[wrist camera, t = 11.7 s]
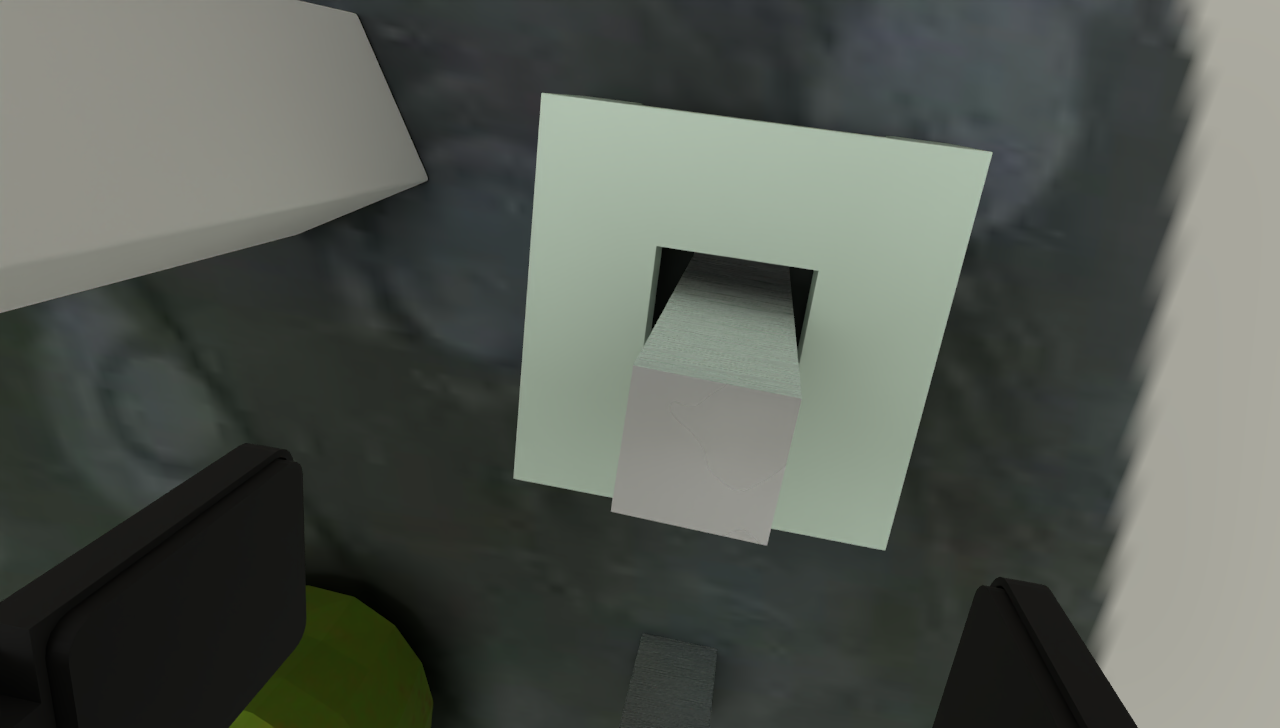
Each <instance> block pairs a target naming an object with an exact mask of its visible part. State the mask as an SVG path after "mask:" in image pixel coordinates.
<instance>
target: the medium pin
mask: <svg viewBox="0 0 1280 728" xmlns="http://www.w3.org/2000/svg"><path fill="white" fill-rule="evenodd" d="M716 658H717V649H715V648H711V647H706V646H701V645H697V644H692V643H687V642H683V641H678V640H673V639H669V638H664V637H660V636H655V635H650V634H646V633H642V637H641V641H640V645H639V649H638V653H637V657H636V661H635V665H634V669H633V673H632V677H631V681H630V685H629V690H628V694H627V698H626V702H625V706H624V710H623V714H622V718H621V722H620V726H619V728H709V726H710V716H711V707H712V697H713V687H714V677H715V668H716Z"/></svg>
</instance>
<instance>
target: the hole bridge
mask: <svg viewBox="0 0 1280 728" xmlns="http://www.w3.org/2000/svg"><path fill="white" fill-rule="evenodd" d="M992 153H993V152H989V151H984V150H979V149H974V148H969V147H964V146H959V145H954V144H948V143H940V142H933V141H925V140H917V139H910V138H902V137H894V136H887V135H886V137H880V136H873V135H865V134H857V133H850V132H842V131H834V130H827V129H819V128H812V127H804V126H796V125H789V124H781V123H774V122H766V121H758V120H751V119H743V118H735V117H728V116H720V115H713V114H705V113H697V112H690V111H682V110H674V109H667V108H659V107H652V106H644V105H642V103H635V102H627V101H620V100H612V99H604V98H597V97H589V96H579V95H564V94H549V93H542V94H541V107H540V121H539V135H538V148H537V162H536V176H535V190H534V203H533V217H532V231H531V245H530V258H529V272H528V286H527V299H526V313H525V327H524V341H523V354H522V368H521V382H520V395H519V409H518V423H517V437H516V450H515V464H514V478H513V479H518V480H523V481H528V482H534V483H539V484H544V485H549V486H554V487H559V488H565V489H570V490H575V491H580V492H585V493H590V494H596V495H601V496H606V497H611V498H613V493H614V487H615V480H616V474H617V467H618V461H619V454H620V448H621V441H622V435H623V428H624V422H625V415H626V409H627V402H628V396H629V389H630V382H631V376H632V369H633V365H634V363H635V361H636V359H637V357H638V356H639V354H640V352H641V350H642V348H643V346H644V345H645V343H646V341H647V339H648V337H649V336H650V334H651V329H652V322H653V314H654V306H655V299H656V291H657V284H658V276H659V269H660V261H661V254H662V247H666V248H673V249H679V250H686V251H692V252H699V253H705V254H712V255H718V256H725V257H732V258H738V259H745V260H751V261H758V262H764V263H771V264H777V265H784V266H790V267H797V268H803V269H810V270H814V272H813V277H812V282H811V287H810V292H809V297H808V301H807V306H806V311H805V316H804V321H803V326H802V331H801V336H800V341H799V346H798V351H797V354H798V364H799V374H800V384H801V394H802V400H801V405H800V409H799V413H798V417H797V421H796V426H795V430H794V434H793V438H792V442H791V447H790V451H789V455H788V459H787V463H786V468H785V472H784V476H783V480H782V484H781V489H780V493H779V497H778V501H777V505H776V510H775V514H774V518H773V522H772V526H771V529H776V530H781V531H787V532H792V533H797V534H802V535H807V536H812V537H818V538H823V539H828V540H833V541H838V542H843V543H849V544H854V545H859V546H864V547H869V548H874V549H880V550H885V549H886V546H887V542H888V538H889V535H890V531H891V527H892V524H893V520H894V516H895V512H896V509H897V505H898V501H899V498H900V494H901V490H902V486H903V483H904V479H905V475H906V472H907V468H908V464H909V460H910V457H911V453H912V449H913V446H914V442H915V438H916V435H917V431H918V427H919V423H920V420H921V416H922V412H923V409H924V405H925V401H926V397H927V394H928V390H929V386H930V383H931V379H932V375H933V372H934V368H935V364H936V360H937V357H938V353H939V349H940V346H941V342H942V338H943V334H944V331H945V327H946V323H947V320H948V316H949V312H950V309H951V305H952V301H953V297H954V294H955V290H956V286H957V283H958V279H959V275H960V271H961V268H962V264H963V260H964V257H965V253H966V249H967V246H968V242H969V238H970V234H971V231H972V227H973V223H974V220H975V216H976V212H977V208H978V205H979V201H980V197H981V194H982V190H983V186H984V183H985V179H986V175H987V171H988V168H989V164H990V160H991V157H992Z"/></svg>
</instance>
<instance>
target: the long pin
mask: <svg viewBox="0 0 1280 728" xmlns="http://www.w3.org/2000/svg"><path fill="white" fill-rule="evenodd" d="M801 400H802V394H801V384H800V374H799V364H798V354H797V344H796V333H795V323H794V313H793V303H792V293H791V283H790V272H789V266H784V265H777V264H771V263H764V262H758V261H751V260H745V259H738V258H732V257H725V256H718V255H712V254H705V253H699V252H695V253H694V255H693V257H692V259H691V261H690V263H689V264H688V266H687V268H686V270H685V272H684V274H683V275H682V277H681V279H680V281H679V283H678V284H677V286H676V288H675V290H674V292H673V294H672V295H671V297H670V299H669V301H668V303H667V305H666V306H665V308H664V310H663V312H662V314H661V315H660V317H659V319H658V321H657V323H656V325H655V326H654V328H653V330H652V332H651V334H650V336H649V337H648V339H647V341H646V343H645V345H644V346H643V348H642V350H641V352H640V354H639V356H638V357H637V359H636V361H635V363H634V365H633V369H632V376H631V382H630V389H629V396H628V402H627V409H626V415H625V422H624V428H623V435H622V441H621V448H620V454H619V461H618V467H617V474H616V480H615V487H614V493H613V500H612V507H611V512H615V513H620V514H624V515H629V516H634V517H638V518H643V519H647V520H652V521H656V522H661V523H666V524H670V525H675V526H679V527H684V528H688V529H693V530H698V531H702V532H707V533H711V534H716V535H720V536H725V537H730V538H734V539H739V540H743V541H748V542H752V543H757V544H762V545H766V546H767V543H768V539H769V535H770V531H771V526H772V522H773V518H774V514H775V510H776V505H777V501H778V497H779V493H780V489H781V484H782V480H783V476H784V472H785V468H786V463H787V459H788V455H789V451H790V447H791V442H792V438H793V434H794V430H795V426H796V421H797V417H798V413H799V409H800V405H801Z"/></svg>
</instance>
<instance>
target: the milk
mask: <svg viewBox="0 0 1280 728" xmlns="http://www.w3.org/2000/svg"><path fill="white" fill-rule="evenodd" d="M427 180H428V177H427V174H426V172H425V170H424V167H423V165H422V163H421V160H420V158H419V156H418V154H417V151H416V149H415V147H414V144H413V142H412V140H411V137H410V135H409V133H408V130H407V128H406V126H405V124H404V121H403V119H402V117H401V114H400V112H399V110H398V107H397V105H396V103H395V101H394V98H393V96H392V94H391V91H390V89H389V87H388V84H387V82H386V80H385V77H384V75H383V73H382V71H381V68H380V66H379V64H378V61H377V59H376V57H375V54H374V52H373V50H372V48H371V45H370V43H369V41H368V38H367V36H366V34H365V31H364V29H363V27H362V24H361V22H360V20H359V18H358V16H357V14H355V13H352V12H347V11H343V10H338V9H334V8H330V7H325V6H321V5H316V4H312V3H308V2H303V1H299V0H0V313H2V312H6V311H10V310H13V309H17V308H21V307H25V306H29V305H32V304H36V303H40V302H44V301H48V300H51V299H55V298H59V297H63V296H66V295H70V294H74V293H78V292H82V291H85V290H89V289H93V288H97V287H101V286H104V285H108V284H112V283H116V282H119V281H123V280H127V279H131V278H135V277H138V276H142V275H146V274H150V273H154V272H157V271H161V270H165V269H169V268H172V267H176V266H180V265H184V264H188V263H191V262H195V261H199V260H203V259H207V258H210V257H214V256H218V255H222V254H225V253H229V252H233V251H237V250H241V249H244V248H248V247H252V246H256V245H260V244H263V243H267V242H271V241H275V240H278V239H282V238H286V237H290V236H294V235H297V234H300V233H302V232H305V231H307V230H309V229H312V228H314V227H317V226H319V225H322V224H324V223H326V222H329V221H331V220H334V219H336V218H339V217H341V216H343V215H346V214H348V213H351V212H353V211H356V210H358V209H360V208H363V207H365V206H368V205H370V204H373V203H375V202H377V201H380V200H382V199H385V198H387V197H390V196H392V195H394V194H397V193H399V192H402V191H404V190H406V189H409V188H411V187H414V186H416V185H419V184H421V183H423V182H426V181H427Z"/></svg>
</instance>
